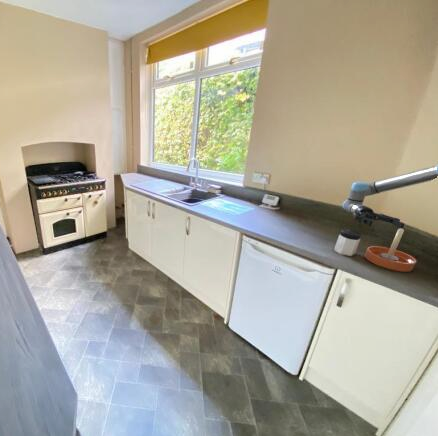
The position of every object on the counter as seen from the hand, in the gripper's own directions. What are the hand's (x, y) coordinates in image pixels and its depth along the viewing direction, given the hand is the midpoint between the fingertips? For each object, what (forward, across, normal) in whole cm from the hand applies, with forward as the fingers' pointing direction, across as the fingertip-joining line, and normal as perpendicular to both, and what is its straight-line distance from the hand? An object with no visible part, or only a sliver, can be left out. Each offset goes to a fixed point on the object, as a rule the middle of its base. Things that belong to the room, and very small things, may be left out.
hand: (386, 224), depth 120 cm
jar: (+2, +16, -17) cm, 23 cm away
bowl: (+10, 0, -17) cm, 19 cm away
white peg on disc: (+10, 0, -16) cm, 19 cm away
